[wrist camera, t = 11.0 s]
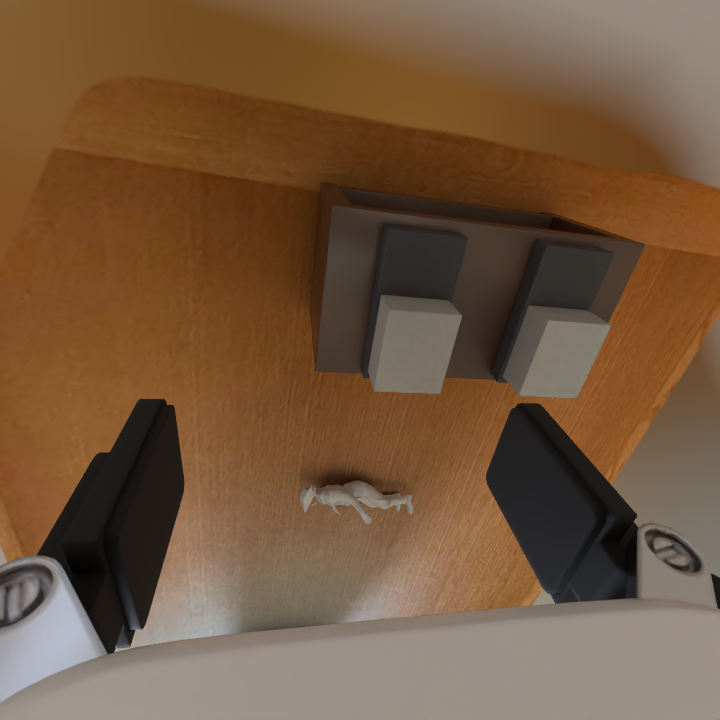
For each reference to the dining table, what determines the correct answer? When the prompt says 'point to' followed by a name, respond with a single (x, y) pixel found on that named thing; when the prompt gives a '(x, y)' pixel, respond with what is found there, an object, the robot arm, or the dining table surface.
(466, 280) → the shoe rack
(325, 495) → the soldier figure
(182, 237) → the dining table surface
